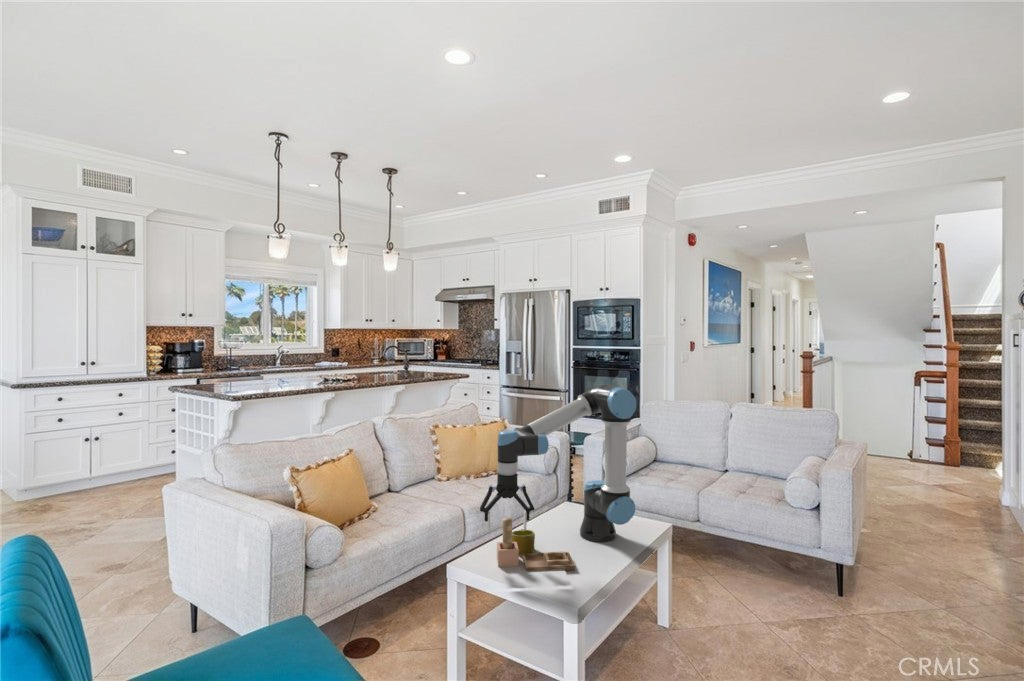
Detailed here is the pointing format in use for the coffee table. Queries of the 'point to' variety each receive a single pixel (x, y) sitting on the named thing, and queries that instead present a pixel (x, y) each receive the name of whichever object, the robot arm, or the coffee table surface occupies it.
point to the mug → (524, 541)
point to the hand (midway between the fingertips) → (506, 529)
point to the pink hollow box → (507, 555)
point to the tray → (548, 561)
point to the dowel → (507, 533)
